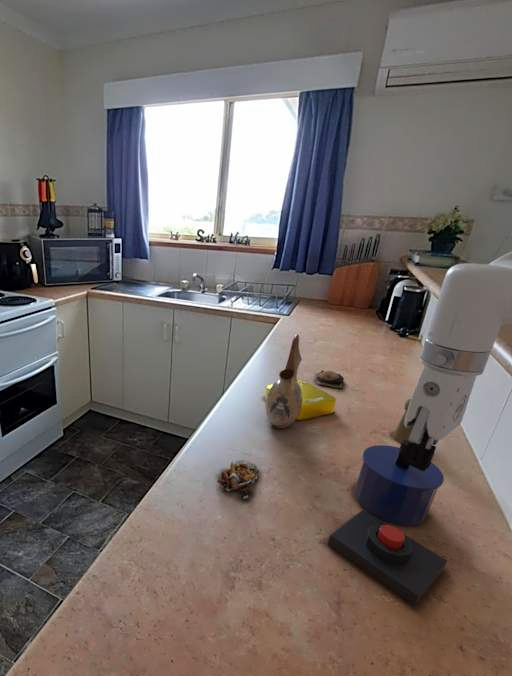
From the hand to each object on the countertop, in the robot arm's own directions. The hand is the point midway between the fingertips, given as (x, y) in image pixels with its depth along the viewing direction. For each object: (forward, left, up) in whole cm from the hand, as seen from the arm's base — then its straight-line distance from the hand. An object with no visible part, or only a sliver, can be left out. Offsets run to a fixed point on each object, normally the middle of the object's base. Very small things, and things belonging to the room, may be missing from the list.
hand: (415, 464), depth 62 cm
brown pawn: (+14, -41, -17) cm, 46 cm away
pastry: (+27, +8, -17) cm, 33 cm away
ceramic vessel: (+37, -19, -17) cm, 45 cm away
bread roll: (+46, -58, -17) cm, 76 cm away
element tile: (+41, -33, -17) cm, 55 cm away
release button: (-1, +3, -13) cm, 14 cm away
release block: (-1, +3, -17) cm, 17 cm away
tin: (+5, -12, -17) cm, 21 cm away
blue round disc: (+5, -12, -8) cm, 15 cm away
